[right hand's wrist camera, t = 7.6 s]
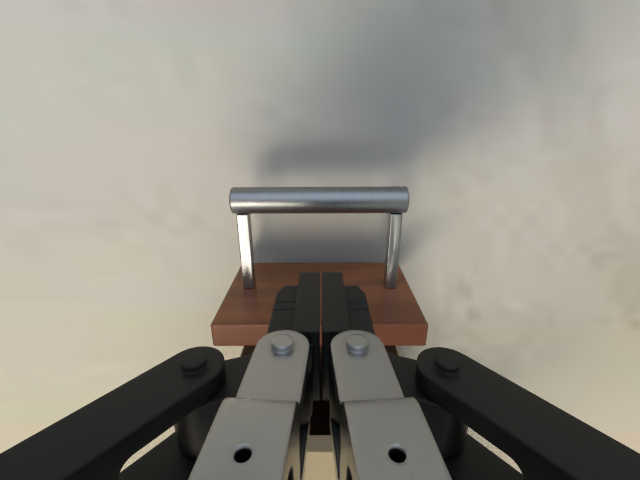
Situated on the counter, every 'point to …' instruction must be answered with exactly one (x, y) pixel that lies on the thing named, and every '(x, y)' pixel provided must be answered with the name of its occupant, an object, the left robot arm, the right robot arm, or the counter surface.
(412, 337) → the drawer
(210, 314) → the counter surface
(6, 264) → the counter surface
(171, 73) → the counter surface
